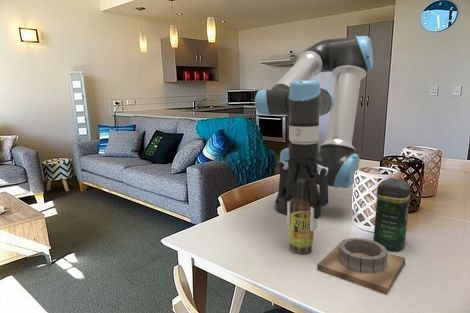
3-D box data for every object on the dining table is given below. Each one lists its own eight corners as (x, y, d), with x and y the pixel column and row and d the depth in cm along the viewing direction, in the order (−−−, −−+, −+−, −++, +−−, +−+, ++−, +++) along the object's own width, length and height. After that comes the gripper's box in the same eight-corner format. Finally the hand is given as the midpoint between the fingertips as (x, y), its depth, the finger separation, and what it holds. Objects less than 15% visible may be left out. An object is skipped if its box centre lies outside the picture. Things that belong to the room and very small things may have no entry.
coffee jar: (402, 254, 86) (407, 186, 82) (370, 246, 90) (374, 182, 86) (407, 240, 93) (413, 178, 90) (378, 234, 98) (382, 174, 94)
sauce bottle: (292, 255, 86) (292, 183, 82) (287, 244, 92) (287, 177, 89) (316, 254, 86) (317, 182, 83) (310, 243, 93) (311, 176, 89)
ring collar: (317, 269, 79) (317, 250, 78) (342, 245, 91) (343, 228, 90) (386, 294, 69) (388, 273, 68) (405, 263, 81) (406, 244, 80)
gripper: (264, 140, 87) (264, 222, 91) (333, 147, 75) (329, 240, 79) (279, 137, 92) (279, 214, 97) (345, 143, 80) (341, 230, 85)
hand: (301, 225), depth 88 cm, fingers closed on sauce bottle, 6 cm apart
